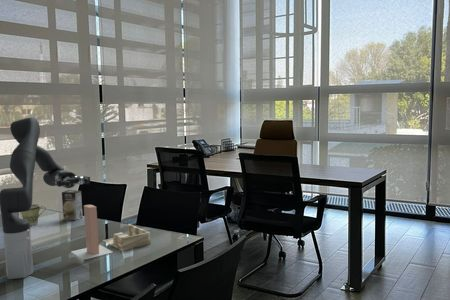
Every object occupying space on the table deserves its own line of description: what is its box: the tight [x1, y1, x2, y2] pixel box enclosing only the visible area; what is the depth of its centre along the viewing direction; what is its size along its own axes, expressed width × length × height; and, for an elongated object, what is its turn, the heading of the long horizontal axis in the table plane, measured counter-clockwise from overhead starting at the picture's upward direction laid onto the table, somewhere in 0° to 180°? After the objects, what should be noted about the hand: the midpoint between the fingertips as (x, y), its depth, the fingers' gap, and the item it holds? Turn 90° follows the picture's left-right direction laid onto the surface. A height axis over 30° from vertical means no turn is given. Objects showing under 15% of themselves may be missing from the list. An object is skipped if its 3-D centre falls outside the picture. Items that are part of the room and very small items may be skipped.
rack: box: [102, 223, 151, 251], centre depth 196 cm, size 20×14×6 cm
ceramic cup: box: [20, 203, 46, 226], centre depth 240 cm, size 13×10×10 cm
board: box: [83, 204, 100, 255], centre depth 181 cm, size 6×3×20 cm, turn 39°
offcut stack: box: [112, 232, 128, 248], centre depth 191 cm, size 8×4×4 cm, turn 39°
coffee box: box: [61, 189, 83, 221], centre depth 248 cm, size 9×6×16 cm
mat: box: [70, 244, 113, 264], centre depth 183 cm, size 14×13×2 cm
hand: (78, 182), depth 188 cm, fingers open, 8 cm apart
